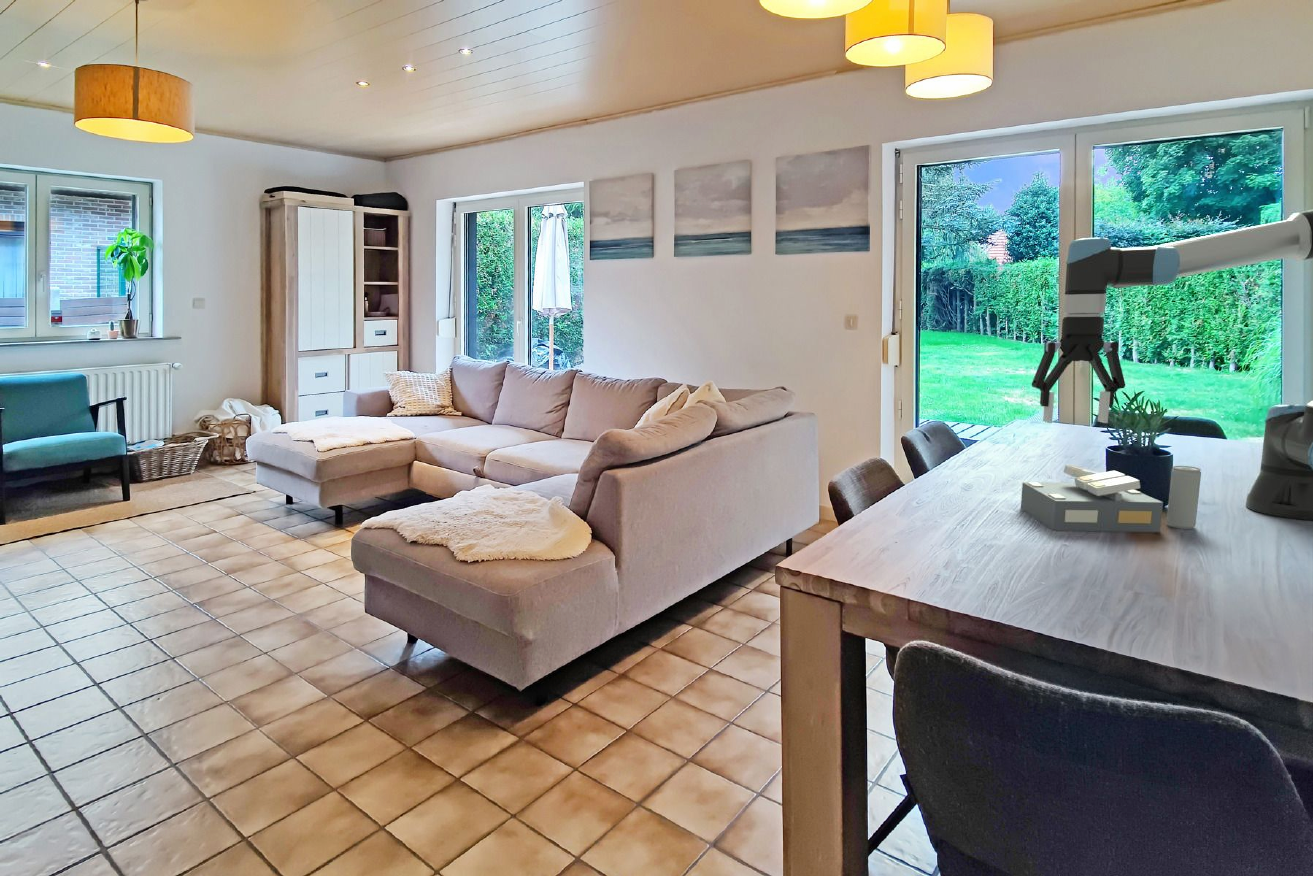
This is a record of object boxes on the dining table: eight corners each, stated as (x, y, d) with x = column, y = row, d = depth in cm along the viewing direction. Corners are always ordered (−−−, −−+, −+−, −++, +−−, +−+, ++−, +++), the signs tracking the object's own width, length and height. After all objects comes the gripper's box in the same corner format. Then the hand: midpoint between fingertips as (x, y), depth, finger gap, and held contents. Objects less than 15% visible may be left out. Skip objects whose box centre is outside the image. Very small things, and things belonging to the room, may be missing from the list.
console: (1116, 510, 164) (1119, 476, 163) (1160, 532, 147) (1164, 495, 146) (1020, 508, 166) (1022, 475, 165) (1053, 530, 149) (1056, 494, 148)
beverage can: (1199, 530, 149) (1206, 470, 147) (1172, 529, 150) (1178, 470, 148) (1188, 523, 153) (1194, 466, 151) (1161, 522, 154) (1167, 465, 152)
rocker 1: (1100, 480, 163) (1103, 472, 162) (1110, 484, 158) (1112, 476, 158) (1063, 472, 163) (1065, 464, 163) (1071, 476, 159) (1074, 468, 159)
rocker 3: (1129, 483, 152) (1127, 475, 151) (1140, 488, 148) (1139, 479, 147) (1087, 491, 153) (1086, 482, 152) (1097, 495, 149) (1096, 487, 148)
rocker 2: (1115, 477, 157) (1114, 469, 157) (1126, 482, 153) (1124, 473, 153) (1075, 485, 158) (1074, 477, 158) (1084, 489, 154) (1083, 481, 154)
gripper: (1132, 315, 158) (1122, 419, 162) (1018, 316, 160) (1011, 419, 164) (1152, 315, 151) (1141, 424, 154) (1032, 316, 153) (1025, 424, 156)
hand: (1074, 422), depth 159 cm, fingers open, 10 cm apart
